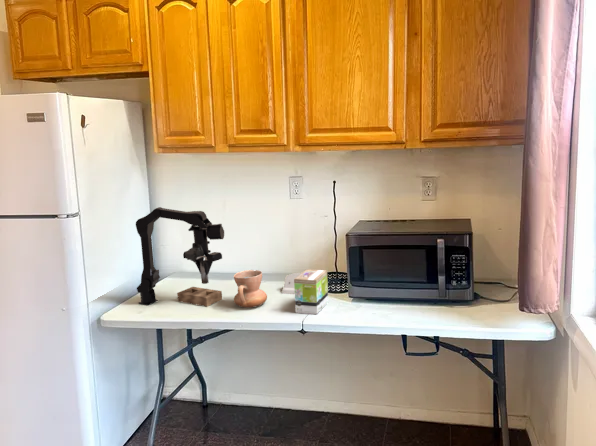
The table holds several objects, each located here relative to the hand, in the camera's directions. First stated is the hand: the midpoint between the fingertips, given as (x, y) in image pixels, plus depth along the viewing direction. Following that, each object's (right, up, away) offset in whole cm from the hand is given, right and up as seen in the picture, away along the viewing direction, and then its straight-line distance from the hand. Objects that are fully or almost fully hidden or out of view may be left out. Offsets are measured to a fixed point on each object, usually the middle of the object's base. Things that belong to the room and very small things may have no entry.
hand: (204, 274), depth 243 cm
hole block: (-3, -12, +5) cm, 14 cm away
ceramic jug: (+21, -13, -6) cm, 26 cm away
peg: (0, -4, +1) cm, 4 cm away
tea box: (+48, -13, -15) cm, 52 cm away
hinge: (+43, -9, +8) cm, 45 cm away
